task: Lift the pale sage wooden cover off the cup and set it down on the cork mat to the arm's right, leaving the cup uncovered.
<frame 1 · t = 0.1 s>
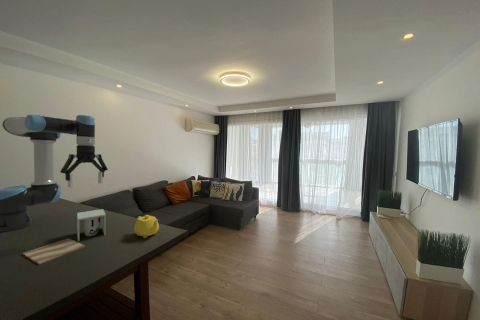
hand: (86, 185, 100), 28 cm above the table, fingers open, 13 cm apart
cover: (91, 234, 103), on the table
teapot: (147, 235, 105), on the table
mat: (55, 250, 86), on the table
cup: (91, 234, 103), on the table
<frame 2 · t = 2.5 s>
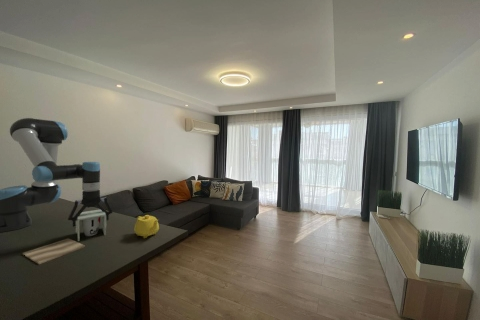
hand: (91, 229, 103), 3 cm above the table, fingers closed on cover, 12 cm apart
cover: (91, 234, 103), on the table, touching gripper
everything else where it was.
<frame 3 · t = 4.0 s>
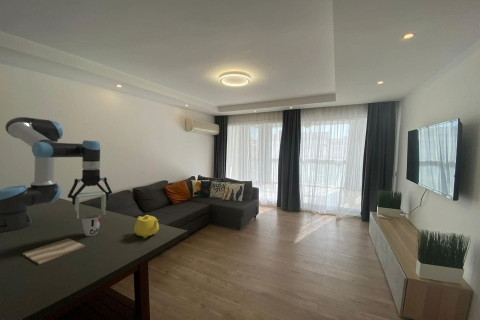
hand: (90, 208, 103), 14 cm above the table, fingers closed on cover, 12 cm apart
cover: (90, 213, 103), point 12 cm above the table, touching gripper
everything else where it was.
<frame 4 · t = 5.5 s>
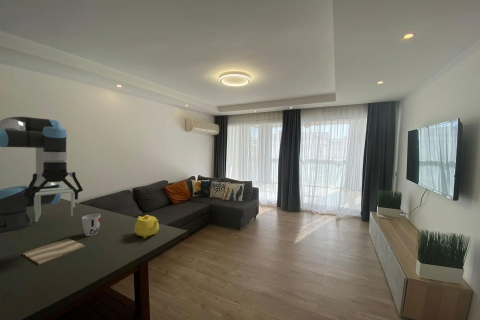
hand: (55, 209, 85), 19 cm above the table, fingers closed on cover, 12 cm apart
cover: (55, 215, 86), point 16 cm above the table, touching gripper
everything else where it was.
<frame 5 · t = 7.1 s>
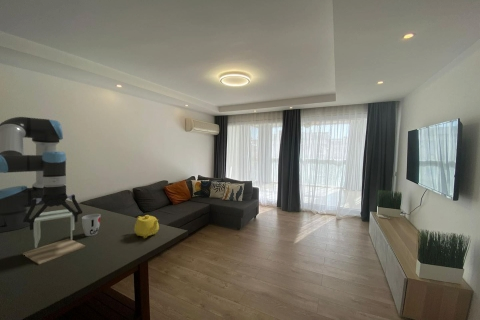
hand: (55, 232, 86), 8 cm above the table, fingers closed on cover, 12 cm apart
cover: (55, 238, 86), point 6 cm above the table, touching gripper
everything else where it was.
when the fingers open (5 cm above the table, at t = 8.4 s): cover drops 1 cm, resting on mat.
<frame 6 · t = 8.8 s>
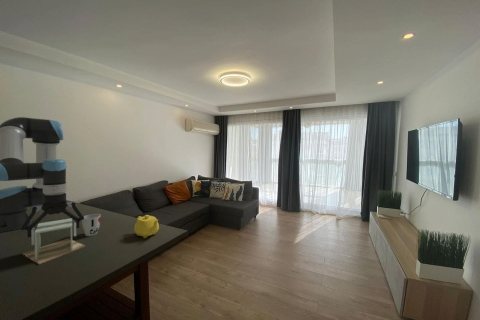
hand: (55, 239, 86), 5 cm above the table, fingers open, 13 cm apart
cover: (55, 249, 86), point 1 cm above the table, touching mat
everything else where it was.
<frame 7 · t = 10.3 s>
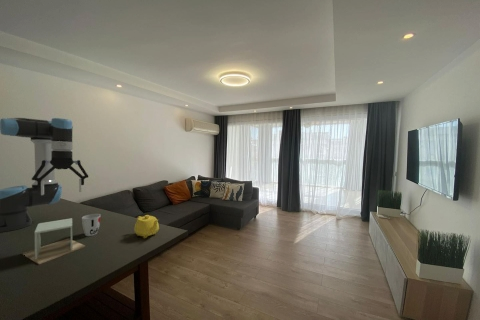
hand: (62, 193, 93), 25 cm above the table, fingers open, 13 cm apart
nothing on the table moved.
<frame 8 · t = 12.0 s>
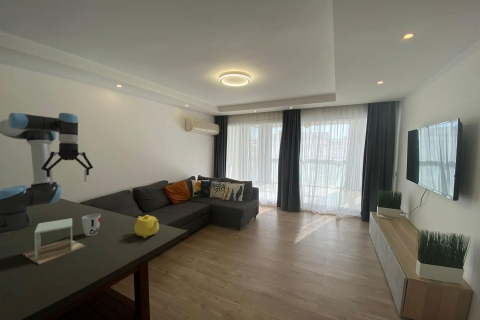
hand: (69, 182, 101), 29 cm above the table, fingers open, 13 cm apart
nothing on the table moved.
at the end: cover inside the target area on the mat (0.0 cm from its centre), point 0.6 cm above the mat's base; cover tilted 0°; cover touching mat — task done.
